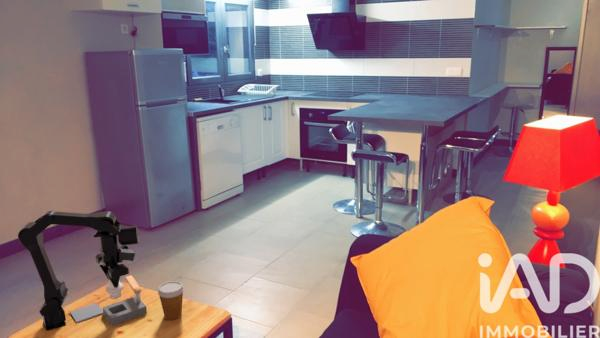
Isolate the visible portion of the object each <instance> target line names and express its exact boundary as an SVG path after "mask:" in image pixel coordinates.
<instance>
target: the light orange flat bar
mask: <svg viewBox="0 0 600 338" xmlns="http://www.w3.org/2000/svg"><path fill="white" fill-rule="evenodd" d="M125 280H126V282H127V284H129V285H128V286H129V287H130V289H131V290H132V291H133V293H134V294H135V295H136V294H137V293H140V294H141V292H142V289H141V286H140V285H139V283H138V282H137V281H136V279H135V278H134V277H133V275H127V276H125Z"/></svg>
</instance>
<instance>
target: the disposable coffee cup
mask: <svg viewBox="0 0 600 338" xmlns="http://www.w3.org/2000/svg"><path fill="white" fill-rule="evenodd" d="M184 289H185V287H184V285H183V283H182V282H180V281H176V280H174V281H172V280H171V281H166V282H164V283H161V284H160V285H159V287H158V289H157V293H158V296H159V300H160V303H161V308H162V311H163V312H162V313H163V316H164V318H165V319H166V320H168V321H170V320H171V321H174V320H177V319H179V318H180V317H182V313H183V311H182V310H183V298H184V297H183V294H184V291H185V290H184Z"/></svg>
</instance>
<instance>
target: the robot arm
mask: <svg viewBox="0 0 600 338" xmlns="http://www.w3.org/2000/svg"><path fill="white" fill-rule="evenodd" d="M51 225H56V226H59V225H60V226H71V227H86V228H90V229H92V230H94V231H95V232H94V234H93V236H92V237H93V238H99V242H100V247H101V248H100V249H99V252H100V253H97V254H96V256H95V262H96V263H97V264H98V265H99V268H100V269H101V271H102V272H103V274H104V275H105V277H106V278H107V280H108V279H110V281H111V282H112V284H113V286H114V287H115V288H117V287H118V284H119V280H120V279H121V277H123V276H126V275H129V274H130V271H129V270H130V269H129V267H128V266H127V265H126V264H124V263H123V262H124V261H130V262H134V260H135V257H136V252H135V251H134V250H133V249H131V248H129V246H133V245H140V232H139V229H138V226H137V225H132V226H123V223H121V222H120V221H119V220H118V219H117V217H116V214H114V212H113V211H107V210H106V211H98V212H93V213H80V212H67V211H55V210H48V211H46V212H45V213H44V214H43V215H42V216H39V218H37V219H36V220H35V221H32V222H31V221H29V222H27V223H26V224H25V225H24V226H23V227H22V228H21V229H20V231H18V234H17V238H18V241H19V242H20V243H21V245H22V246H23V248H25V250H27V251H28V252H29V254H30V256H31V258H32V260H33V263H34V266H35V268H36V270H37V273H38V276H39V278H40V281H41V283H42V286H43V297H44V302H43V304H42V306H41V308H40V310H39V314H40V315H41V317H42V320H43V321H42V325H43V327H44V329H45V331H46V332H48V331H51V330H55V329H57V328H59V327H63V326H65V325H66V324H67V323H66V321H67V319H66V311H65V309H64V308H63V307H62V305H63V303H64V302H65V301H66V298H67V296H68V291H69V289H68V288H67V286H66V282H65V281H61V282H60V281H59V280H58V279H57V276H56V274H55V271H54V269H53V267H52V265H51V262H50V259H49V256H48V253H47V252H46V249H45V247H44V230H46V229H47V228H49V226H51ZM119 244H120V245H121V246H120V247H119ZM119 263H120V264H119Z"/></svg>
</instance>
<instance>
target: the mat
mask: <svg viewBox="0 0 600 338" xmlns="http://www.w3.org/2000/svg"><path fill="white" fill-rule="evenodd" d="M69 314H70V315H71V317H72V318H73V320H74V321H75V322H76V324H78V323H80V322H84V321H87V320H89V319H92V318H95V317H98V316H101V315H104V314H103V308H102V307H101V306H100V305H99V303H98V302H95V303H92V304H90V305H86V306H83V307H81V308H78V309H74V310H70V311H69Z"/></svg>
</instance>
